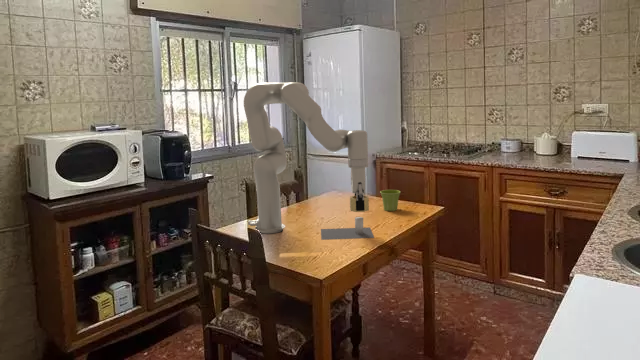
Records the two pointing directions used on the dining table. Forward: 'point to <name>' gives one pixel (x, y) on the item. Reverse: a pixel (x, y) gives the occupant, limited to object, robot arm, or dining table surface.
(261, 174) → the robot arm
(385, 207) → the plant pot
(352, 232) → the piston stand
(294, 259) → the dining table surface
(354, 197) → the brass ring
